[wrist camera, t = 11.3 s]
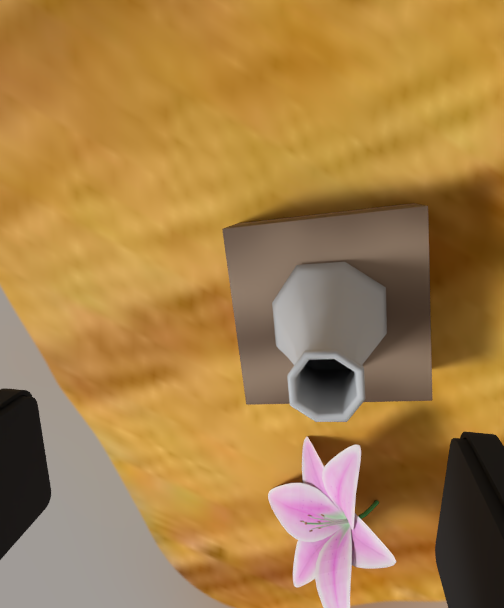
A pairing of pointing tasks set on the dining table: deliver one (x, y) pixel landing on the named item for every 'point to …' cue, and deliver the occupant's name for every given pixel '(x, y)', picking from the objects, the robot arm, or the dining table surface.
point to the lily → (328, 525)
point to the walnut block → (326, 249)
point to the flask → (328, 336)
